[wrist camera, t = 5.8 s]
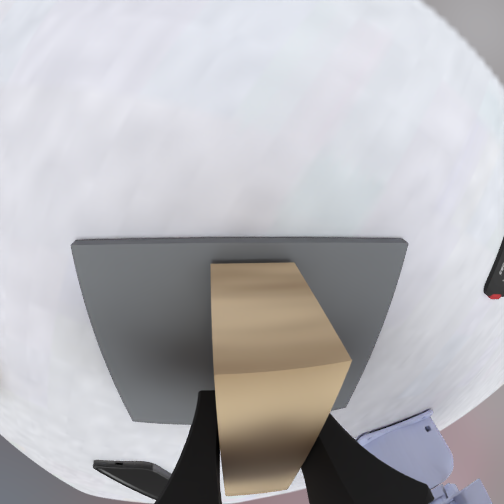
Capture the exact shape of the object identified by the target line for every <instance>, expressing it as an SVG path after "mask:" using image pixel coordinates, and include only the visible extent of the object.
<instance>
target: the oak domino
mask: <svg viewBox="0 0 504 504" xmlns="http://www.w3.org/2000/svg"><path fill="white" fill-rule="evenodd" d="M210 265H211V316H212V344H213V365H214V382H215V396H216V409H217V421H218V432H219V442H220V452H221V462H222V470H223V479H224V487H225V495H226V496H236V495H249V494H259V493H267V492H274V491H281V490H287V489H288V488H289V486H290V484H291V483H292V481H293V480H294V478H295V476H296V475H297V473H298V471H299V470H300V468H301V466H302V465H303V463H304V461H305V459H306V458H307V456H308V454H309V452H310V450H311V448H312V447H313V445H314V443H315V441H316V439H317V437H318V435H319V433H320V431H321V429H322V427H323V425H324V423H325V421H326V419H327V417H328V415H329V413H330V411H331V409H332V407H333V404H334V402H335V400H336V398H337V396H338V393H339V391H340V389H341V386H342V384H343V382H344V379H345V377H346V374H347V372H348V370H349V367H350V364H351V362H352V359H351V358H350V356H349V354H348V352H347V350H346V349H345V347H344V345H343V344H342V342H341V340H340V338H339V337H338V335H337V333H336V331H335V330H334V328H333V326H332V325H331V323H330V321H329V319H328V318H327V316H326V314H325V313H324V311H323V309H322V308H321V306H320V304H319V303H318V301H317V299H316V297H315V296H314V294H313V292H312V291H311V289H310V287H309V286H308V284H307V283H306V281H305V279H304V278H303V276H302V274H301V273H300V271H299V269H298V268H297V266H296V264H295V263H294V262H289V263H229V264H210Z"/></svg>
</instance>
